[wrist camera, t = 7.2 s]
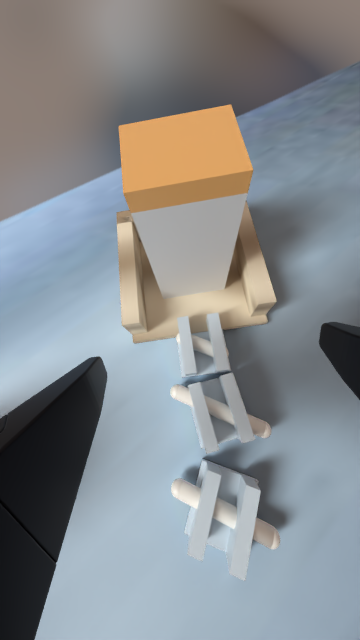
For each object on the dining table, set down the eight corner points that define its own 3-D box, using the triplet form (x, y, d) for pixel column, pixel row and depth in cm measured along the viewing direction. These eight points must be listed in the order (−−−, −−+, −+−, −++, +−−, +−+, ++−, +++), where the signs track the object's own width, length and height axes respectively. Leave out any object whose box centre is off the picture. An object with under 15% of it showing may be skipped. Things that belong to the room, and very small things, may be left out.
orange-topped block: (224, 289, 18) (253, 169, 8) (163, 299, 18) (123, 192, 8) (215, 248, 19) (230, 104, 10) (158, 257, 19) (118, 125, 10)
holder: (265, 323, 17) (279, 309, 14) (134, 343, 17) (122, 333, 15) (237, 218, 20) (243, 190, 18) (127, 237, 21) (116, 212, 18)
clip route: (252, 318, 17) (259, 309, 15) (283, 557, 13) (298, 586, 11) (171, 322, 18) (168, 313, 16) (173, 553, 13) (168, 580, 11)
